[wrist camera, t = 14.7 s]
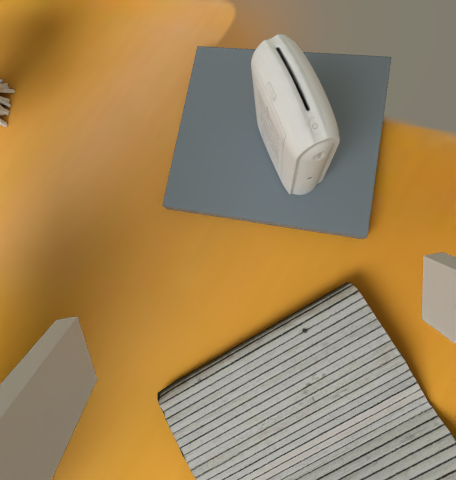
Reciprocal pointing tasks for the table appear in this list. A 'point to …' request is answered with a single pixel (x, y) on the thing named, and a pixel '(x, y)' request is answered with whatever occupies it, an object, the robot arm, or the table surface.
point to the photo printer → (293, 114)
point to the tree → (4, 101)
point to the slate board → (257, 157)
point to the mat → (310, 404)
